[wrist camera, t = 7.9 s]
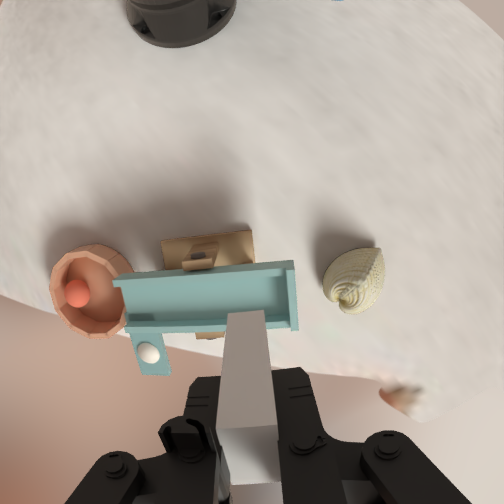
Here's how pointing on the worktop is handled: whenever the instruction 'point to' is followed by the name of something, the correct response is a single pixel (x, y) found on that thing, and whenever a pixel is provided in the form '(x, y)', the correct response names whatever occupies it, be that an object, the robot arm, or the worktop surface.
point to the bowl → (91, 290)
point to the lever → (202, 303)
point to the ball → (77, 293)
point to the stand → (208, 256)
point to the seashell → (355, 279)
